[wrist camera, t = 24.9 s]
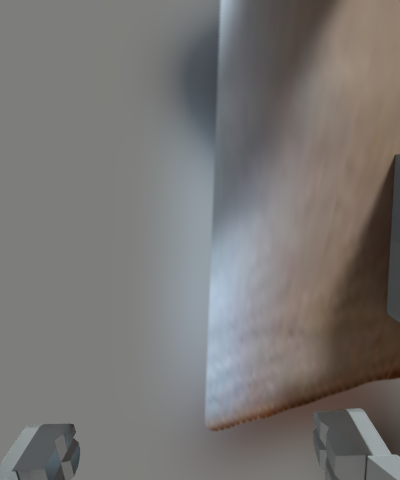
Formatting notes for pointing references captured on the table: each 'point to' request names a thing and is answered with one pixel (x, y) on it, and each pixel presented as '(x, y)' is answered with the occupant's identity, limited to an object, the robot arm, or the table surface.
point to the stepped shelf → (395, 250)
